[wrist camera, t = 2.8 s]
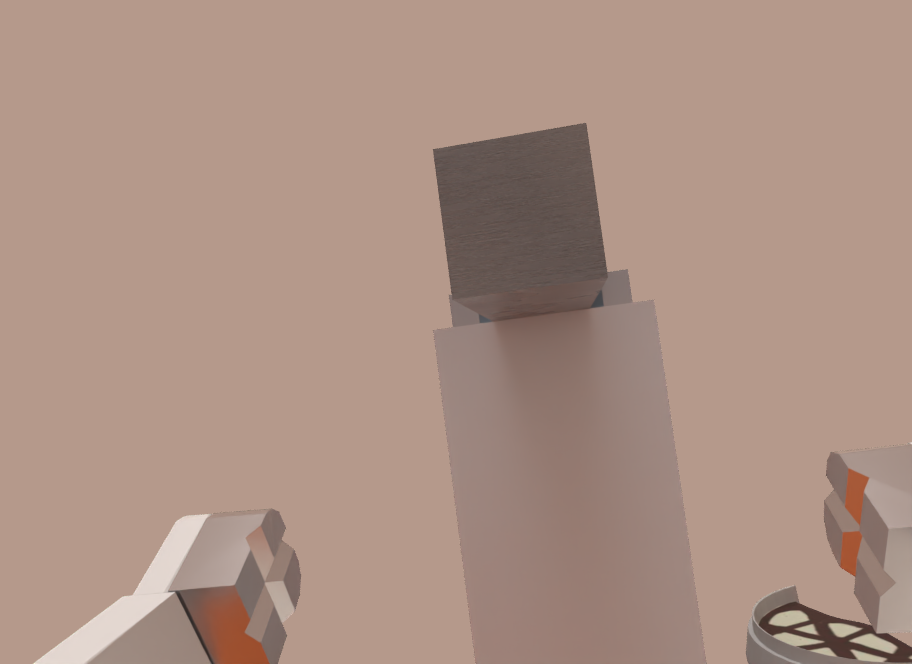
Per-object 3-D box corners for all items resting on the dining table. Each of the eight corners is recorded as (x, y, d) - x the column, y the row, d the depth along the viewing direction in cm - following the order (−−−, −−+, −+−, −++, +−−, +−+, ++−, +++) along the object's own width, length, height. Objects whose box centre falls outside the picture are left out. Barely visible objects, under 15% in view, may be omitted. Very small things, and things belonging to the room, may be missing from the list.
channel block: (526, 1066, 25) (429, 297, 27) (539, 792, 41) (478, 320, 42) (764, 1068, 24) (649, 266, 26) (683, 786, 40) (615, 301, 41)
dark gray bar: (452, 299, 16) (432, 149, 17) (516, 334, 40) (508, 272, 40) (607, 277, 16) (586, 122, 16) (579, 325, 40) (571, 263, 40)
